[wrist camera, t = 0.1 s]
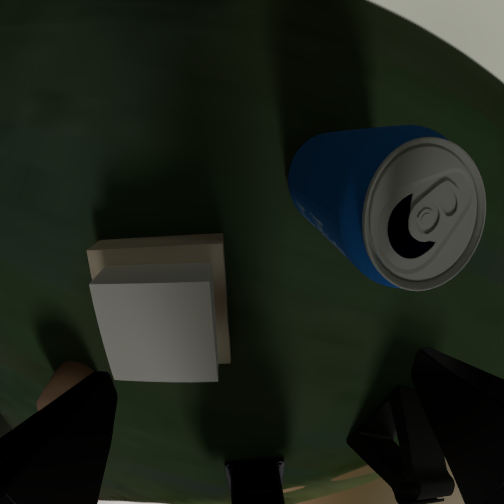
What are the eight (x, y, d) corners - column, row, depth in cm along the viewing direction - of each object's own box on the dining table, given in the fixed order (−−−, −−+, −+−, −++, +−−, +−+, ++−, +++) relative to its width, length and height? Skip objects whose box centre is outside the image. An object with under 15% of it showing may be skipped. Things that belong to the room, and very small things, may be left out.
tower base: (230, 340, 25) (230, 363, 22) (123, 342, 25) (113, 363, 22) (223, 231, 22) (222, 243, 20) (102, 237, 22) (86, 250, 19)
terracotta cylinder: (112, 404, 26) (99, 441, 22) (67, 399, 26) (50, 433, 21) (97, 362, 25) (78, 399, 20) (50, 358, 24) (28, 391, 20)
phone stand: (381, 446, 31) (415, 521, 20) (345, 440, 30) (377, 527, 19) (430, 394, 29) (481, 469, 18) (398, 384, 28) (452, 471, 17)
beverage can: (266, 168, 21) (313, 194, 9) (342, 114, 20) (452, 93, 9) (320, 242, 23) (399, 332, 11) (389, 190, 22) (507, 235, 10)
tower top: (218, 354, 22) (218, 381, 19) (124, 354, 22) (114, 379, 19) (211, 262, 20) (209, 281, 17) (105, 265, 19) (89, 284, 17)
